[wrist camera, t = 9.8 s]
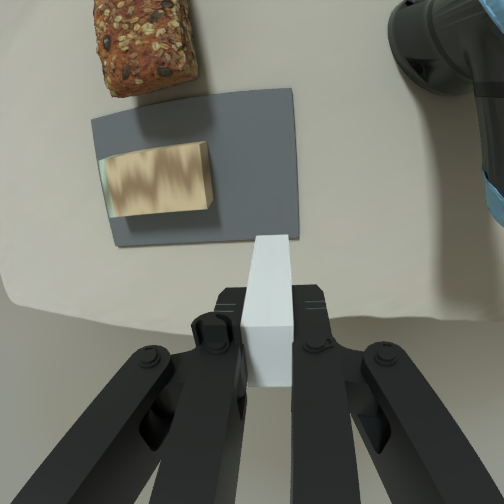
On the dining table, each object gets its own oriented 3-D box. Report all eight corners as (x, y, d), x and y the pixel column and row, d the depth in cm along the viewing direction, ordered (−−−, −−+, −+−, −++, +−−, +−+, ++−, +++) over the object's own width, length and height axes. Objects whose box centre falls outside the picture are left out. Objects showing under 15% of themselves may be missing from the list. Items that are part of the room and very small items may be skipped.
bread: (205, 80, 34) (182, 71, 25) (131, 100, 36) (93, 101, 27) (187, -32, 26) (164, -63, 17) (118, -8, 28) (82, -28, 19)
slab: (206, 140, 37) (112, 155, 38) (199, 144, 33) (98, 160, 35) (213, 199, 40) (122, 208, 42) (207, 209, 37) (109, 217, 38)
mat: (93, 119, 37) (90, 119, 36) (291, 88, 34) (291, 88, 33) (117, 244, 45) (115, 246, 45) (298, 235, 42) (298, 237, 42)
